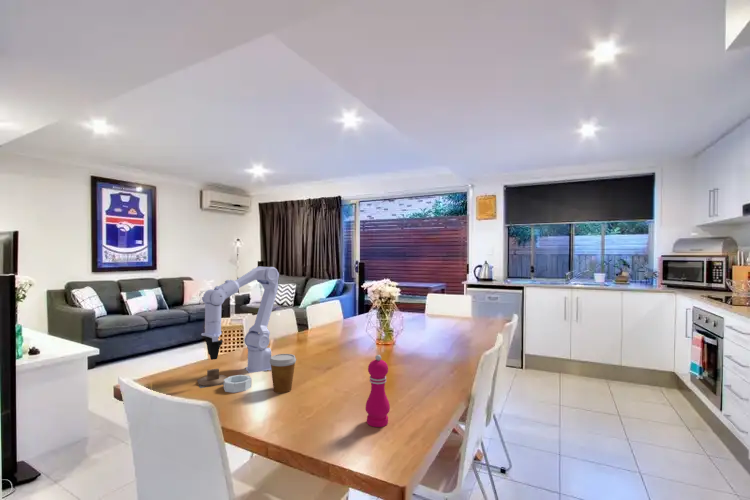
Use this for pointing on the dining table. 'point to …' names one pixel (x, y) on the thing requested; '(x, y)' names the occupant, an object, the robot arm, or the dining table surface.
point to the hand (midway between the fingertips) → (212, 356)
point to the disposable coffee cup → (282, 372)
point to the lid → (212, 378)
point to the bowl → (237, 383)
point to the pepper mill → (377, 394)
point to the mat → (206, 386)
